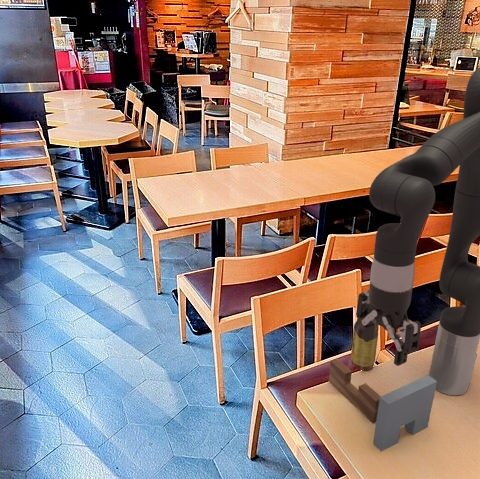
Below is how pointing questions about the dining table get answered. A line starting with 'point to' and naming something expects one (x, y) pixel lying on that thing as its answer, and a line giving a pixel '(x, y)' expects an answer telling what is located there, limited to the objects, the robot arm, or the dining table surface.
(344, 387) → the walnut board
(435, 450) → the dining table surface
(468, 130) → the robot arm
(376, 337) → the sauce bottle
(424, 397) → the grey block
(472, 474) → the dining table surface
